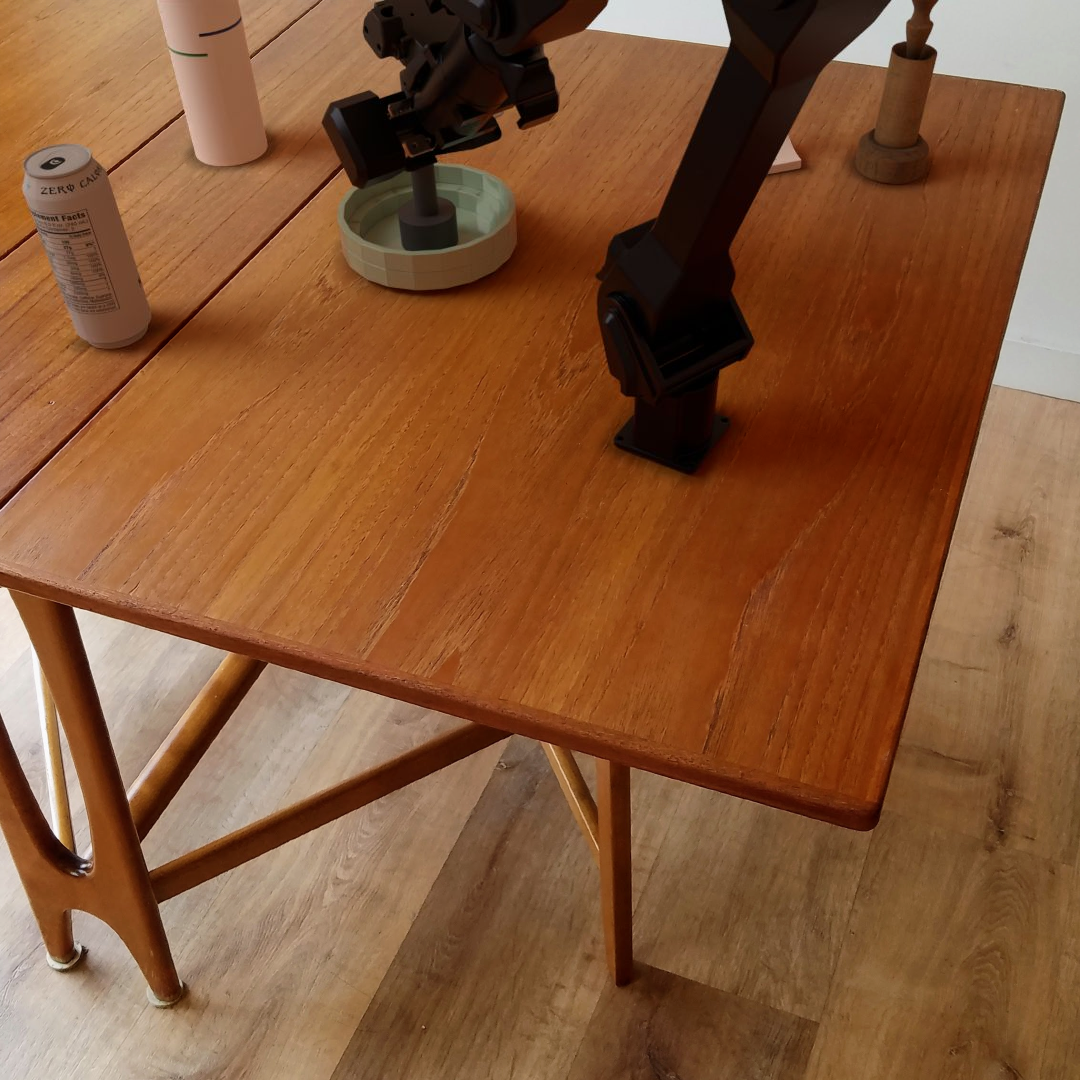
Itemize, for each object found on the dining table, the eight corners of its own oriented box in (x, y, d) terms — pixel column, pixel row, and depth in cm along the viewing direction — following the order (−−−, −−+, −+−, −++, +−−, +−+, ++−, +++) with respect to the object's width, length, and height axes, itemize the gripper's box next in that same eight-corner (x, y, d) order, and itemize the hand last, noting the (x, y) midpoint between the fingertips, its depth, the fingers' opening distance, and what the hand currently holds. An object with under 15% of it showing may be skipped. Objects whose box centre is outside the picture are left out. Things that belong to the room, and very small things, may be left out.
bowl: (452, 315, 94) (448, 273, 91) (308, 265, 100) (300, 223, 97) (549, 229, 103) (548, 188, 100) (411, 187, 109) (407, 148, 106)
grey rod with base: (399, 257, 99) (377, 87, 89) (403, 227, 103) (382, 60, 92) (457, 255, 99) (442, 85, 89) (459, 225, 103) (445, 57, 92)
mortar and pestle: (925, 187, 107) (973, -15, 94) (853, 181, 108) (891, -20, 95) (923, 153, 111) (968, -45, 98) (854, 148, 112) (891, -49, 99)
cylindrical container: (274, 157, 114) (218, -124, 96) (202, 172, 112) (131, -112, 94) (259, 126, 118) (202, -147, 100) (189, 140, 117) (119, -136, 99)
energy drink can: (170, 320, 95) (117, 148, 84) (121, 360, 91) (59, 186, 80) (113, 302, 97) (54, 133, 86) (63, 341, 93) (-5, 169, 82)
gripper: (534, -69, 85) (463, 35, 99) (311, -6, 78) (268, 97, 92) (599, 72, 86) (519, 154, 101) (386, 147, 79) (332, 225, 93)
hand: (413, 154), depth 97 cm, fingers closed on grey rod with base
